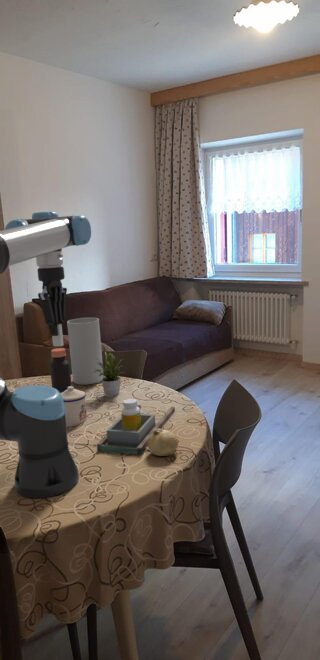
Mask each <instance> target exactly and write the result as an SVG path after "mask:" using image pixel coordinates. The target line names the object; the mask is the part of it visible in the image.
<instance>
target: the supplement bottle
mask: <svg viewBox="0 0 320 660" xmlns="http://www.w3.org/2000/svg"><path fill="white" fill-rule="evenodd" d="M122 402H123V403H122V405H123V408H122V409H121V411H120V412H121V416H122V426H123V431H136V432H137V431H138V430H139V429H140V428H141V416H140V414H141V409H140V408H139V407H137V405H138V399H135V398H128V399H124V400H123V401H122Z"/></svg>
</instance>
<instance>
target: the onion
mask: <svg viewBox="0 0 320 660" xmlns="http://www.w3.org/2000/svg"><path fill="white" fill-rule="evenodd" d="M178 446H179V439H178V437H177V436H176V434H174V433H173V432H171V431H170V430H168V429H162V428H161V429H160V428H158V429H155V430H154V431H153V433H152V434H151V436H150V437H149V440H148V445H147V447H148V450H149V452H151V454H152V455H154V456H156V457H157V456H158V457H161V456H162V457H163V456H164V457H168V456H172V455H173V454H174V453H175V452H176V451H177V449H178Z"/></svg>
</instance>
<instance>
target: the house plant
mask: <svg viewBox="0 0 320 660" xmlns="http://www.w3.org/2000/svg"><path fill="white" fill-rule="evenodd" d="M104 355H105V358H104V361H105V365H104V364H102V363H103V362H102V363H100V364H101V365H100V364H99V362H98V363H97V364H99V365H100V366H101V367H102V366H103V367H102V368H103V369H99V370H98V369H97V370H96V371H95V372H97V371H99V372H100V371H101V370H103V371H102V372H103V373H101V372H100V373H101V374H100V375H99V376H101V375H103V377H104V378H102V379H101V385H102V389H103V392H104V396H105V397H107V398H113V397H114V396H117V395H119V394H120V390H121V389H120V388H121V377H120V376H119V375H120V374H122V373H124V374H125V372H124V371H121V372H120V368H121V367H122V365H120V366H119V364H120V363H121V361H122V359H120V360H119V362H118V363H117V364H116V366H115V363H116V356H115V355H113V352H112V353H111V352H109V353H107V352H106V351H104ZM94 358H95V357H94ZM96 359H97V358H96ZM98 360H99V359H98ZM99 361H100V360H99ZM100 362H101V361H100ZM95 364H96V363H95ZM95 369H96V368H95ZM97 373H98V372H97Z"/></svg>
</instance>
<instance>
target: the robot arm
mask: <svg viewBox="0 0 320 660" xmlns="http://www.w3.org/2000/svg"><path fill="white" fill-rule="evenodd" d="M91 238H92V227H91V223H90V221H89V219H88V218H87V216H85V215H67V216H66V215H65V216H59V214H58V213H57V212H56V211H41V212H40V211H38V212H34V213H32V215H31V218H29V219H26V218H25V219H24V218H18V219H17V218H16V219H12V220H10V221H9V222H8V223H7V224H6V225H5V228H4V229H3V230H0V275H2V274H4V273H5V272H6V271H8V268H9V267H10V266H14V265H16V264H20V263H22V262H26V261H29V260H32V259H34V258H35V262H36V266H37V267H38V268H37V278H38V281H40V282H42V286H41V288H42V291H41V292H38V294H37V296H38V299H39V300H40V305H41V309H42V312H43V317H44V321H45V324H46V325H47V326H50V329H51V337H52V338H51V339H52V346H53V347H64V345H65V344H64V336H63V326H62V324H65V322H66V307H67V306H66V303H67V301H66V300H67V299H66V298H67V292H68V289H67V287H63V283H62V280H64V279H65V277H66V276H65V268H64V266H63V263H64V255H63V252H62V251H63V249H65V248H68V247H73V246H76V247H79V246H85V245H87V244H88V243H89V242H90V240H91ZM68 440H69V439H68V431H67V426H66V417H65V406H64V402H63V397H62V395H61V393H60V392H59V391H58V390H57V389H55V388H52V386H49V385H44V384H42V385H40V384H36V385H24V386H21V387H18V388H17V389H15V390H14V391H10V389H8V386H7V385H6V383H5V380H4V379H3V378H2V377H1V376H0V441H6V442H7V441H10V442H16V443H17V450H18V460H17V466H16V469H15V475H14V489H15V491H16V492H17V494H18V495H20V496H23V497H25V498H32V499H41V498H50V497H55V496H58V495H61V494H64V493H65V492H67V491H69V490H71V489H73V488H74V487H75V486H76V485H77V483H78V482H79V479H80V478H79V470H78V466H77V465H76V462H75V460H74V458H73V455H72V453H71V451H70V449H69V441H68Z"/></svg>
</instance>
